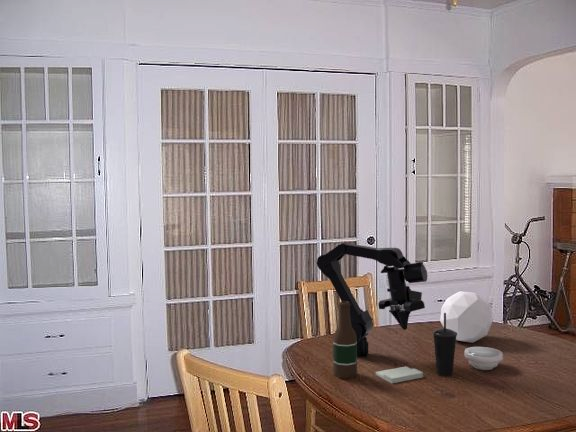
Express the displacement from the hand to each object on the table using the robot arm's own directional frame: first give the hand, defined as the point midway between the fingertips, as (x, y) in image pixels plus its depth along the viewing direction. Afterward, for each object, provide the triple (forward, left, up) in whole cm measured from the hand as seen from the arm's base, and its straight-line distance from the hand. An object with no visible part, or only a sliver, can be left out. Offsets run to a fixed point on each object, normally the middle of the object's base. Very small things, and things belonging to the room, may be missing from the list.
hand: (404, 329), depth 193 cm
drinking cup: (+10, -13, -12) cm, 20 cm away
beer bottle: (-22, -10, -12) cm, 27 cm away
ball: (+31, +22, -12) cm, 40 cm away
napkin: (-5, -13, -11) cm, 18 cm away
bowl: (+25, -8, -11) cm, 28 cm away
